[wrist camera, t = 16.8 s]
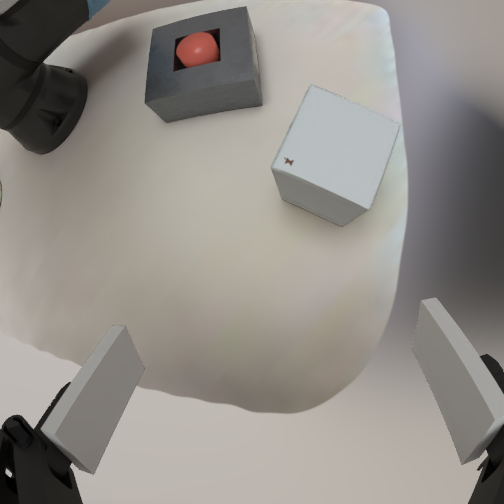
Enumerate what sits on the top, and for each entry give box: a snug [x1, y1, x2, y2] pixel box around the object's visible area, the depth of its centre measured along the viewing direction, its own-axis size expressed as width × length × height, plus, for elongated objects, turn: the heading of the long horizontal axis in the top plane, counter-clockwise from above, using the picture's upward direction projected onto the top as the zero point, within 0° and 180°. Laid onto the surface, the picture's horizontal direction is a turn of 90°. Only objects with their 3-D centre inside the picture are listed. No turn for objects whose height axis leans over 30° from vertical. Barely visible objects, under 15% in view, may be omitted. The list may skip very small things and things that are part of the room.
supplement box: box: [271, 85, 400, 227], centre depth 25 cm, size 7×7×13 cm
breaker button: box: [176, 32, 221, 68], centre depth 29 cm, size 4×4×5 cm
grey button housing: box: [145, 6, 262, 123], centre depth 30 cm, size 12×12×6 cm
